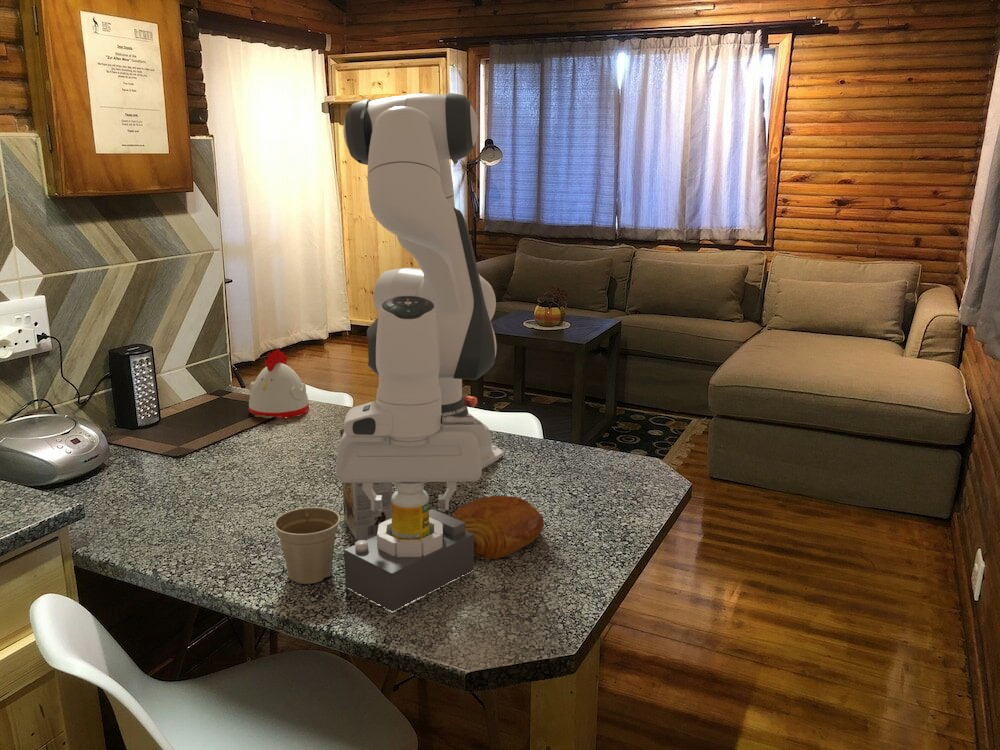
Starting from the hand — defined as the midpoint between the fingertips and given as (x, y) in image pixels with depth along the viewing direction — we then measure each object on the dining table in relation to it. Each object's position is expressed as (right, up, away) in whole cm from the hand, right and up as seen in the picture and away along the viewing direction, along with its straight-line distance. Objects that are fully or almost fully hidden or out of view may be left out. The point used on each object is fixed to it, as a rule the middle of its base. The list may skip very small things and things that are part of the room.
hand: (410, 508), depth 115 cm
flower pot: (-15, -10, +4) cm, 19 cm away
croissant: (+12, -8, +16) cm, 22 cm away
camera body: (0, -11, +3) cm, 11 cm away
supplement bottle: (0, -5, +1) cm, 5 cm away
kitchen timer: (-40, +10, +80) cm, 90 cm away
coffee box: (-9, -6, +19) cm, 22 cm away
